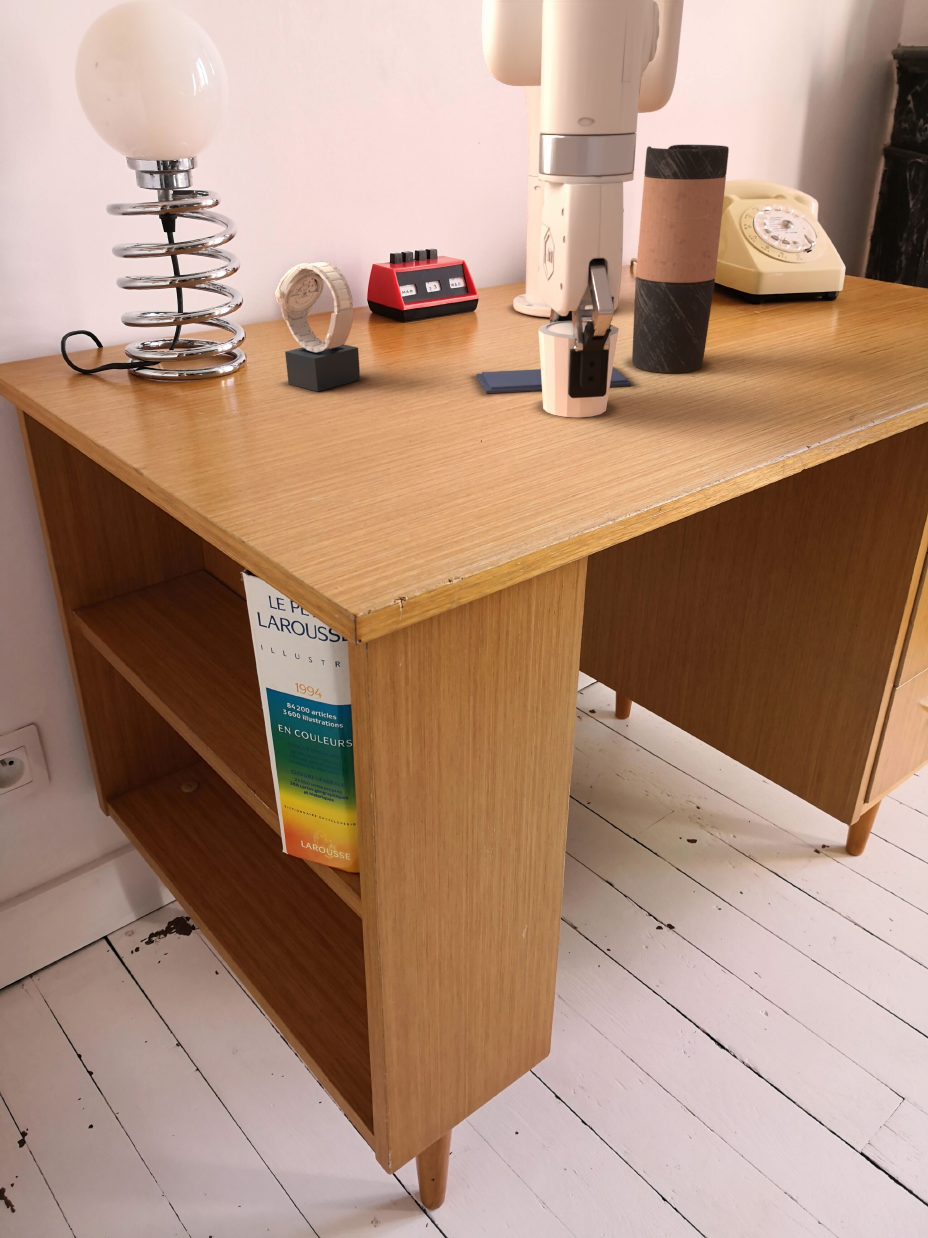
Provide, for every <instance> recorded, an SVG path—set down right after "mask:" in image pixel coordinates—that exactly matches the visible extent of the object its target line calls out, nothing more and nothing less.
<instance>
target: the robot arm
mask: <svg viewBox="0 0 928 1238" xmlns="http://www.w3.org/2000/svg"><path fill="white" fill-rule="evenodd" d="M684 2H685V0H482V4H481V44H482V53H483V58H484V61H485V65H486V67H487V69H488V71H489V73H490V74H491V76H492V77H493V78H494V79H495V80H496V81H498V82H499V83H501V84H503V85H506V86H511V87H524V94H525V95H524V96H525V104H526V105H525V106H526V118H527V156H528V157H527V201H526V202H527V205H526V206H527V208H526V210H527V211H526V249H525V250H526V255H525V256H526V259H525V261H526V262H525V264H526V265H525V293H523V294H520V295H517V296H515V297H514V298H513V302H512V303H513V304H512V305H513V309H514V311H516V312H518V313H521V314H523V315H528V316H534V317H540V318H549V323H553V322H558V321H572V322H573V336H574V349H570V359H569V382H568V394H569V396H570V397H571V398H588V397H603V396H605V394H606V391H607V375H608V360H609V348H610V332H611V329H610V327H611V325H612V324H611V323H612V321H613V318H614V315H615V311H616V309H617V308H618V306H619V303H620V295H621V285H622V274H623V273H622V271H623V270H622V269H623V253H624V252H623V250H624V249H623V248H624V212H625V209H624V183H627V182H631V181H634V177H635V176H634V175H635V162H636V161H635V160H636V146H637V132H638V131H637V130H638V114H645V113H653V112H657V111H660V110H661V109H663V108H664V107H666V105H667V104H668V103H669V101H670V100H671V97H672V95H673V91H674V88H675V84H676V79H677V71H678V70H677V69H678V63H679V54H680V53H679V52H680V43H681V34H682V33H681V32H682V23H683V11H684ZM582 321H588V322H587V324H586V325H585V329H584V332H583V324H582Z"/></svg>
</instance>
